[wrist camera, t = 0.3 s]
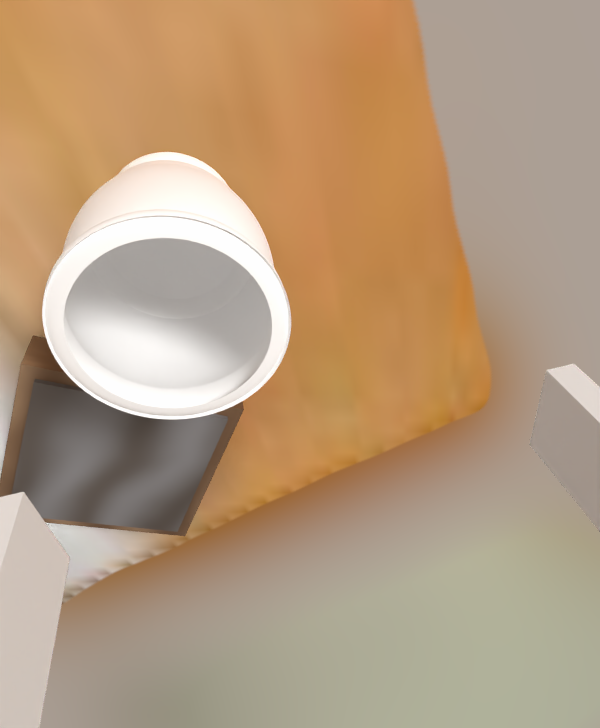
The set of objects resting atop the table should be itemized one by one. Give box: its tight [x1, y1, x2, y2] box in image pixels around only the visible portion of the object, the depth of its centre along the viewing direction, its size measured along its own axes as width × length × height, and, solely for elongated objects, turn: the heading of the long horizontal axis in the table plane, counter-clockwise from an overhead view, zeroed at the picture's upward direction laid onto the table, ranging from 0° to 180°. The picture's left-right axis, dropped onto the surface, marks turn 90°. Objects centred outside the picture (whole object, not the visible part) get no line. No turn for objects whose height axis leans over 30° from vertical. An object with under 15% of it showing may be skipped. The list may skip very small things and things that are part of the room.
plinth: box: [0, 336, 244, 536], centre depth 42 cm, size 16×16×4 cm
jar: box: [42, 152, 291, 419], centre depth 28 cm, size 11×10×15 cm
